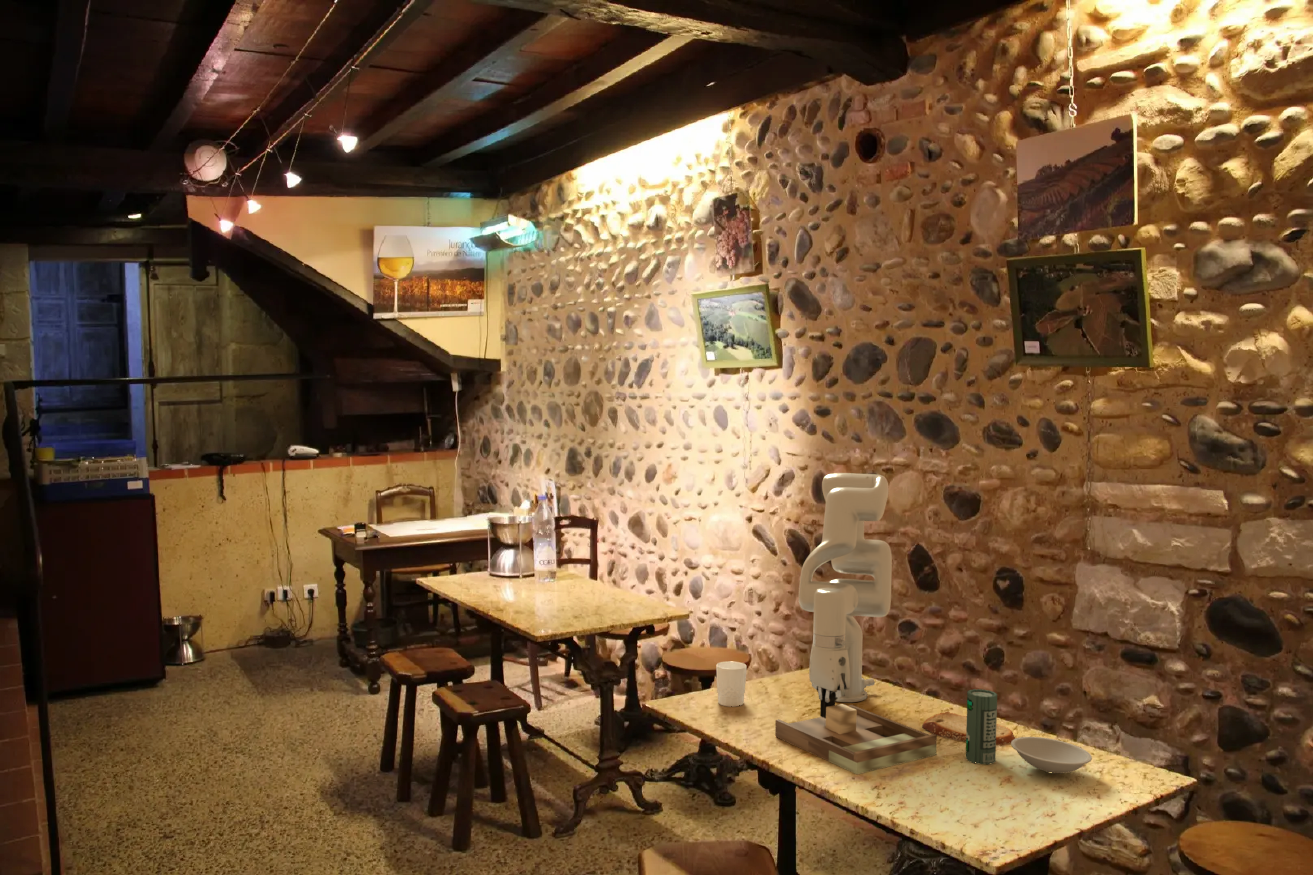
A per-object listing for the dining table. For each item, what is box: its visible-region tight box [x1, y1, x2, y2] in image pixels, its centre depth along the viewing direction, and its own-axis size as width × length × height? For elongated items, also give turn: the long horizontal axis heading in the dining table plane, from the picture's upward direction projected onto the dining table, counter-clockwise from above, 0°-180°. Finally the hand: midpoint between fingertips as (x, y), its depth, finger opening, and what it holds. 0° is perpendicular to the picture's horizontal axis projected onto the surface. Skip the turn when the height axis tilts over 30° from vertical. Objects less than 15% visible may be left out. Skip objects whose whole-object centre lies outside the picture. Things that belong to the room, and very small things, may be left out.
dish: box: [1010, 736, 1093, 774], centre depth 227 cm, size 18×14×5 cm
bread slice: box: [921, 711, 1016, 745], centre depth 252 cm, size 18×18×4 cm
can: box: [965, 688, 998, 765], centre depth 234 cm, size 6×6×15 cm
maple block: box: [826, 703, 857, 734], centre depth 246 cm, size 5×5×5 cm
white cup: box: [715, 660, 747, 707], centre depth 274 cm, size 8×8×10 cm
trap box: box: [774, 704, 938, 775], centre depth 242 cm, size 24×28×4 cm
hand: (827, 716), depth 250 cm, fingers closed
